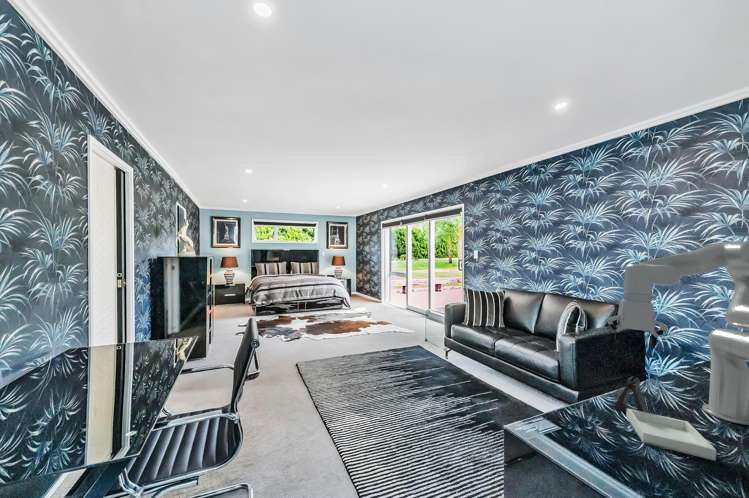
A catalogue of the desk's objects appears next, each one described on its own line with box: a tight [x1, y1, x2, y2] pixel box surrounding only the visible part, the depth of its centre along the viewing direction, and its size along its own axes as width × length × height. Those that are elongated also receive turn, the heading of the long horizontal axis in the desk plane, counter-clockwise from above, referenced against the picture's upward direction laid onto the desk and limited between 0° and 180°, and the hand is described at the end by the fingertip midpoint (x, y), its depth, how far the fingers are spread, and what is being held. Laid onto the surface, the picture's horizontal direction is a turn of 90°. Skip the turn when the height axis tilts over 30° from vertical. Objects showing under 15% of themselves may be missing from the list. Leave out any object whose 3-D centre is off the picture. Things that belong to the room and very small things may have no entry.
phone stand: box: [613, 376, 650, 413], centre depth 114 cm, size 9×6×12 cm, turn 38°
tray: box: [625, 408, 717, 461], centre depth 98 cm, size 16×17×3 cm
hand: (634, 345), depth 113 cm, fingers open, 9 cm apart
